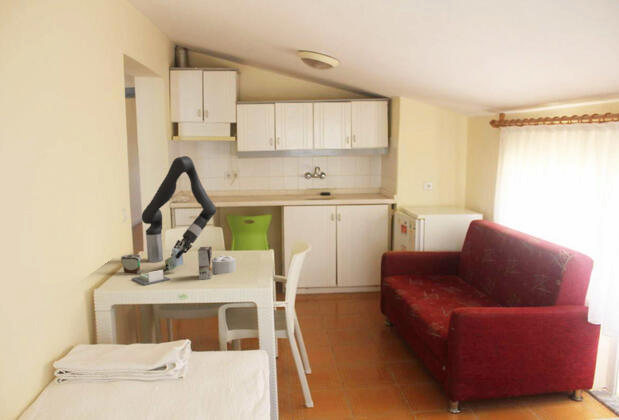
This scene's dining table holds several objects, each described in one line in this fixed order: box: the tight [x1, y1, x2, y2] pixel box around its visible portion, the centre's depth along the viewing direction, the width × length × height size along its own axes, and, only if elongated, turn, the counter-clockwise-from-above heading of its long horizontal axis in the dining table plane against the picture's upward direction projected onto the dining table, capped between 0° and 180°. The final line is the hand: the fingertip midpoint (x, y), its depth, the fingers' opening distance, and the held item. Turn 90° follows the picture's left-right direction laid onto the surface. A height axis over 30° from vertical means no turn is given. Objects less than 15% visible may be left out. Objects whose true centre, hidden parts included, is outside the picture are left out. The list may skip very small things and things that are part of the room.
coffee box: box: [197, 246, 214, 280], centre depth 264 cm, size 9×6×16 cm
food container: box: [120, 254, 142, 275], centre depth 277 cm, size 12×6×10 cm, turn 71°
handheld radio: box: [162, 256, 178, 273], centre depth 288 cm, size 7×3×25 cm
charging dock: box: [131, 269, 171, 286], centre depth 261 cm, size 16×14×6 cm
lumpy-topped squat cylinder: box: [212, 254, 237, 275], centre depth 276 cm, size 10×13×9 cm
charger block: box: [171, 247, 184, 267], centre depth 275 cm, size 4×4×9 cm
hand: (174, 256), depth 273 cm, fingers closed on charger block, 4 cm apart
